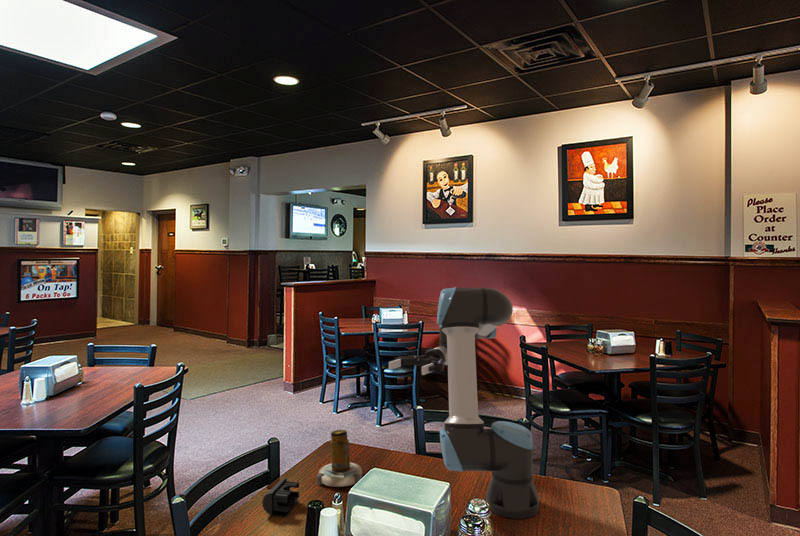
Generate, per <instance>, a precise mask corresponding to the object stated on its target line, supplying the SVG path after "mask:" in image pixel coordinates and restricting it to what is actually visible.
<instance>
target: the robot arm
mask: <svg viewBox="0 0 800 536" xmlns="http://www.w3.org/2000/svg"><path fill="white" fill-rule="evenodd" d="M438 299H439V300H438V305H437V315H436V316H437V319H436V324H437V325H438V326H439V346H437V347H435V348H431V349H428V350H427V351H426V352H425V353H424V354H422V355H417V354H413V355H408V356H399V357H394V358H393V360H391V361H388V371H392V370H395V369H399V368H401V367H402V366H416V367H421V375H422V376H425V375H427V374H430V373H433V372H438V371H439V372H440V373H441V372H442V373H443V371H444V368H445V367H446V366H447V381H448V383H447V385H448V387H447V388H448V415H449V416H448V417H447V418H446V420H445V421H444V422H443V423H444V426H443V427H441V428H440V429H439V441H440V448H441V454H442V458H443V463H444V466H445V468H446V469H447V470H448V471H451V472H453V471H454V472H460V473H464V472H491V479H490V481H489V484H488V487H487V490H486V493H485V494H486V495H485V503H486V502H488V503H489V505H490V507H491V510H490V511H491V512H492V513H494V514H495V515H498V516H501V517H503V518H507V519H515V520H523V519H529V518H532V517H534V516H536V515H538V513H539V511H540V498H539V495H538V493H537V489H536V487H535V483H534V442H533V434H532V432H531V431H530V429H528V428H526V427H525V426H523V425H521V424H519V423H515V422H511V421H506V420H503V421H501V420H498V421H494V422H492V424H491V425H490V426H491V427H490V428H485V424H484V423H485V422H484V420H482V419H481V418H480V416H479V407H478V405H479V404H478V403H479V402H478V400H479V399H478V383H477V382H478V381H477V360H476V358H477V357H476V339H481V340H482V339H485V340H487V339H488V340H489V339H495V338H496V336H497V329H498V326H503V325H504V324H506V323H508V321H509V320H510V319H511V317H512V315H513V311H514V310H513V304H512V301H511V300H510V298H509V297H508V296H507V295H506V294H504V293H503V292H502V291H500V290H498V289H495V288H492V287H456V286H454V287H449V288H444V289H442V290H441V291H440V295H439V298H438Z"/></svg>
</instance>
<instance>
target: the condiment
mask: <svg viewBox="0 0 800 536" xmlns="http://www.w3.org/2000/svg"><path fill="white" fill-rule="evenodd" d="M330 439H331V440H330V443H329V444H330V462H331V465H332V468H328V469H326V470H328V471H331V472H335V473H337V474H340V475H341V474H345V473H348V472H352V471H353V470H356V469H359V468H356V467H354V466H350V462H351V461H350V459H351V457H350V454H351V453H350V443H349V439H348V431H347V430H346V429H336V430H333V431H332V432H331V433H330Z"/></svg>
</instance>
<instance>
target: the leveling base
mask: <svg viewBox="0 0 800 536" xmlns="http://www.w3.org/2000/svg"><path fill="white" fill-rule="evenodd" d="M350 466H354V467H356V468H359V469H356V470H353V471H352V472H348V473H345V474H341V475H340V474H337V473H335V472H331V471H328V470H326V469H328V468H332V465H331V463H327V464H325V465H323V466H322V467H321V468H320V469H319V471H318V473H317V474H316V485H318V486H323V485H325V486H329V487H332V488H333V487H336V488H341V487H343V488H344V487H348V486H352V485H353V486H354V484H355V483H357V481H359V480H360V479H361V480H362V477H363V469H362V467H361V466H360V465H359V464H357V463H355V462H351V461H350Z"/></svg>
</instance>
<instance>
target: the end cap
mask: <svg viewBox="0 0 800 536" xmlns="http://www.w3.org/2000/svg"><path fill="white" fill-rule="evenodd" d="M291 488H295V489H299V488H300V482H299V481H288V478H287V477H283V478H281V479H280V480H278V482H276V484H275V485H274V486H273V487H271V488H270V490H269V491H268V492H267V493H266V494H265V495H264V497H262V502H261V505H262V508H263V510H264V511H265V513H267V514H268V515H270V516H271V517H274V518H275V517H276V518H278V517H279V518H288V516H289V515H290V514H291V513H292V512H293V510H294V509H295V507H296V506H297V505H298V504H299V497H300V491H295V490H291Z"/></svg>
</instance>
